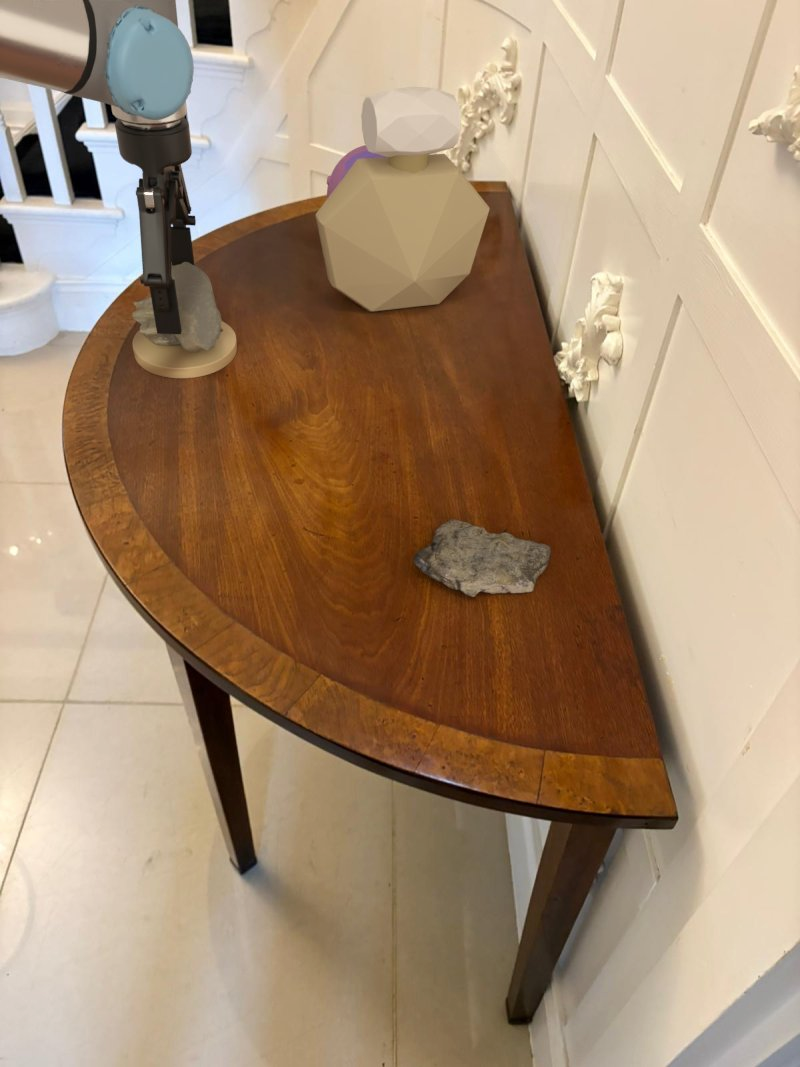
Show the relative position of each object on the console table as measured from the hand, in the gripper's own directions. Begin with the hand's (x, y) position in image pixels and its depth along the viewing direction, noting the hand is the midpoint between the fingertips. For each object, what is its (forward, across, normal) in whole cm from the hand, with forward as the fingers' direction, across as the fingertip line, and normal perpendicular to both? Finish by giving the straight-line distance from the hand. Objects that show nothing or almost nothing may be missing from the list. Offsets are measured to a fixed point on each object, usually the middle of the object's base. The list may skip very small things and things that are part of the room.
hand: (177, 303), depth 97 cm
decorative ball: (+6, +32, -26) cm, 42 cm away
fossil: (+5, 0, 0) cm, 5 cm away
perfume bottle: (+7, +15, -29) cm, 33 cm away
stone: (+7, -38, -34) cm, 51 cm away
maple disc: (+7, 0, 0) cm, 7 cm away
